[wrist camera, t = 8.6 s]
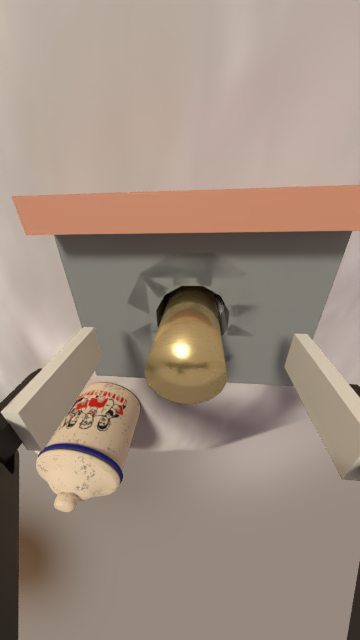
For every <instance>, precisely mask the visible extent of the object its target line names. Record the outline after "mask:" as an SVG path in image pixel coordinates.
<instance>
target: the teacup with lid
mask: <svg viewBox="0 0 360 640" xmlns="http://www.w3.org/2000/svg"><path fill="white" fill-rule="evenodd" d="M139 414H140V404H139V402H138V400H137V398H136V397H135V396H134V395H133V394H132V393H131V392H130V391H128V390H127V389H125V388H123V387H121V386H119V385H116V384H112V383H95V384H92V385H89V386H87V387H86V388H85V389H84V390H83V391H82V392H81V394H80V396H79V397H78V399H77V400H76V402H75V403H74V405H73V406H72V408H71V409H70V411H69V413H68V414H67V415H66V416H65V417H64V419H63V420H62V422H61V423H60V425H59V428H58V430H57V431H56V433H55V434H54V436H53V437H52V439H51V440H50V442H49V443H48V445H47V447H45V448H44V450H43V451H35V452H36V453H37V454H38V459H37V462H36V468H37V471H38V473H39V474H40V476H41V477H42V478H43V479H44V480H45V481H47V482H48V483H49V486H50V488H51V489H52V490H53V492H54V493H56V494H57V497H56V499H55V501H54V507H55V508H56V509H57V510H59V511H63V512H70V511H72V510H73V509H74V508H75V506H76V504H77V501H84V500H87V499H90V498H92V497H98V496H105V495H108V494H111V493H112V492H114V491H115V490H116V489H117V488H118V486H119V485H120V483H121V481H122V479H123V474H122V471H123V468H124V464H125V461H126V458H127V454H128V451H129V448H130V444H131V441H132V438H133V434H134V431H135V428H136V424H137V421H138V418H139Z"/></svg>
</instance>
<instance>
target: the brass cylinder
mask: <svg viewBox="0 0 360 640" xmlns="http://www.w3.org/2000/svg"><path fill="white" fill-rule="evenodd" d="M145 377H146V380H147V382H148V384H149V386H150V387H151V388H152V389H153V390H154V391H155V392H156V393H157V394H158V395H160V396H161V397H163V398H165V399H167V400H170V401H173V402H176V403H182V404H196V403H201V402H205V401H208V400H210V399H212V398H214V397H215V396H217V395H218V394H219V393H220V392H221V391H222V389H223V388H224V386H225V384H226V380H227V372H226V365H225V358H224V351H223V345H222V338H221V331H220V324H219V318H218V311H217V304H216V297H215V294H214V292H213V291H211V290H209V289H208V288H206V287H204V286H180V287H178V288H177V289H175V290H173V291H172V292H171V294H170V297H169V300H168V303H167V306H166V308H165V311H164V314H163V317H162V320H161V322H160V325H159V328H158V331H157V334H156V336H155V339H154V342H153V345H152V348H151V350H150V353H149V356H148V359H147V362H146V365H145Z"/></svg>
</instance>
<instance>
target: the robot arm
mask: <svg viewBox="0 0 360 640" xmlns="http://www.w3.org/2000/svg"><path fill="white" fill-rule="evenodd" d="M102 359H103V357H102V354H101V350H100V346H99V343H98V339H97V335H96V332H95V328H94V327H83V328H82V329H81V330H80V331H79V332H78V333H77V334H76V335H75V336H74V337H73V338H72V339H71V340H70V341H69V342H68V344H67V345H66V346H65V347H64V348H63V349H62V350H61V351H60V352H59V353H58V354H57V355H56V356H55V357H54V358H53V359H52V360H51V361H50V362H49V363H48V364H47V365H46V366H45V367H44V368H43V369H38V370H36V371H35V372H33V373H31V374H30V375H29V376H28V377H27V378H26V379H25V380H24V381H22V382H21V384H19V385H18V386H17V387H16V388H15V390H13V391H12V392H11V393H10V394H9V395H8V396H7V397H6V398H5V399H4V400H3V401H2V402H1V403H0V640H18V577H19V574H18V573H19V569H18V568H19V564H18V563H19V561H18V560H19V452H18V450H17V449H18V448H19V446H20V445H21V444H22V443H23V444H24V446H25V447H26V449H27V450H34V451H43V450H44V448H45V447H46V445H47V443H48V442H49V440H50V439H51V437H52V436H53V434H54V433H55V431H56V430H57V428H58V427H59V425H60V423H61V422H62V420H63V419H64V417H65V416H66V414H67V413H68V411H69V410H70V408H71V407H72V405H73V403H74V402H75V400H76V399H77V397H78V396H79V394H80V393H81V391H82V390H83V388H84V387H85V385H86V383H87V382H88V380H89V379H90V377H91V376H92V374H93V373H94V371H95V370H96V368H97V367H98V365H99V363H100V362H101V360H102ZM284 367H285V369H286V371H287V373H288V375H289V377H290V379H291V381H292V383H293V385H294V387H295V389H296V391H297V393H298V395H299V397H300V399H301V401H302V402H303V404H304V406H305V408H306V410H307V412H308V414H309V416H310V418H311V420H312V422H313V424H314V426H315V428H316V430H317V432H318V434H319V436H320V437H321V440H322V442H323V443H324V445H325V447H326V449H327V451H328V453H329V455H330V457H331V459H332V461H333V463H334V465H335V467H336V469H337V471H338V473H339V474H340V477H341V479H345V480H356V481H360V387H359V386H358V385H354V384H348V383H347V381H346V380H345V379H344V378H343V377H342V375H341V374H340V373H339V372H338V371H337V369H336V368H335V367H334V366H333V364H332V363H331V362H330V361H329V360H328V358H327V357H326V356H325V355H324V354H323V352H322V351H321V350H320V349H319V348H318V346H317V345H316V344H315V343H314V341H313V340H312V339H311V338H310V337H309V335H308V334H294V336H293V340H292V343H291V346H290V350H289V353H288V356H287V359H286V363H285V366H284ZM347 640H360V563H359V569H358V575H357V581H356V588H355V593H354V599H353V606H352V612H351V619H350V624H349V630H348V636H347Z"/></svg>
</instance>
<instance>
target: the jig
mask: <svg viewBox="0 0 360 640" xmlns="http://www.w3.org/2000/svg"><path fill="white" fill-rule="evenodd" d="M12 198H13V201H14V204H15V207H16V209H17V212H18V215H19V217H20V220H21V223H22V226H23V228H24V231H25V234H26V235H54V237H55V241H56V244H57V247H58V250H59V254H60V257H61V260H62V263H63V267H64V270H65V273H66V277H67V280H68V283H69V286H70V290H71V293H72V296H73V299H74V303H75V306H76V309H77V313H78V316H79V319H80V322H81V326H82V328H83V327H94V328H95V332H96V335H97V339H98V343H99V346H100V350H101V354H102V357H103V359H102V360H101V362H100V363H99V365H98V367H97V368H96V370H95V371H96V375H101V376H119V377H137V378H146V377H145V365H146V362H147V359H148V356H149V353H150V350H151V348H152V345H153V342H154V339H155V336H156V334H157V331H158V328H159V325H160V322H161V320H162V317H163V314H164V311H165V310H164V301H163V297H164V295H166V294H168V293H169V292H171V291H173V290H175V289H177V288H178V287H180V286H204V287H206V288H208V289H209V290H211V291H213V292H215V293H216V294H218V295H220V296H221V298H222V299H223V301H224V311H223V312H222V313H221V315H220V316H219V317H218V318H219V324H220V331H221V338H222V345H223V351H224V358H225V365H226V372H227V380H226V382H229V383H248V384H266V385H284V386H294V385H293V383H292V381H291V379H290V377H289V375H288V373H287V371H286V369H285V367H284V366H285V363H286V359H287V356H288V353H289V350H290V346H291V343H292V340H293V336H294V334H308V335H309V337H310V338H311V339H312V340H313V337H314V334H315V331H316V329H317V326H318V323H319V321H320V318H321V315H322V312H323V310H324V307H325V304H326V301H327V299H328V296H329V293H330V290H331V288H332V285H333V282H334V279H335V277H336V274H337V271H338V268H339V266H340V263H341V260H342V257H343V255H344V252H345V249H346V246H347V244H348V241H349V238H350V235H351V233H352V231H360V185H342V186H311V187H281V188H251V189H221V190H190V191H160V192H130V193H99V194H69V195H39V196H12Z"/></svg>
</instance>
